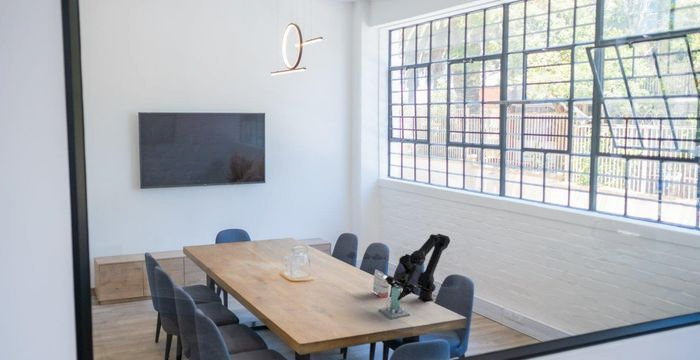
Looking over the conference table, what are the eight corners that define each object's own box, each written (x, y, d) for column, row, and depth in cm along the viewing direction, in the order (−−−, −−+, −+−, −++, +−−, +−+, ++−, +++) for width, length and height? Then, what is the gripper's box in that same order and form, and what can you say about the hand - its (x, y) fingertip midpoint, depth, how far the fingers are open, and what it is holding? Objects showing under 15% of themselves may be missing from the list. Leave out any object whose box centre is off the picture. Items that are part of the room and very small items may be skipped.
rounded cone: (393, 306, 336) (394, 285, 334) (401, 309, 334) (403, 288, 331) (388, 309, 332) (390, 288, 330) (396, 312, 329) (398, 290, 327)
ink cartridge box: (388, 296, 355) (390, 272, 352) (381, 298, 352) (383, 273, 349) (378, 291, 361) (381, 267, 359) (372, 293, 359) (374, 268, 356)
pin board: (397, 307, 341) (397, 301, 340) (410, 315, 331) (410, 309, 330) (378, 310, 335) (379, 304, 334) (391, 319, 325) (392, 312, 324)
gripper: (389, 261, 337) (374, 285, 331) (417, 271, 325) (402, 296, 319) (396, 272, 344) (382, 295, 338) (424, 281, 332) (410, 306, 327)
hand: (394, 298), depth 330 cm, fingers closed on rounded cone, 5 cm apart
